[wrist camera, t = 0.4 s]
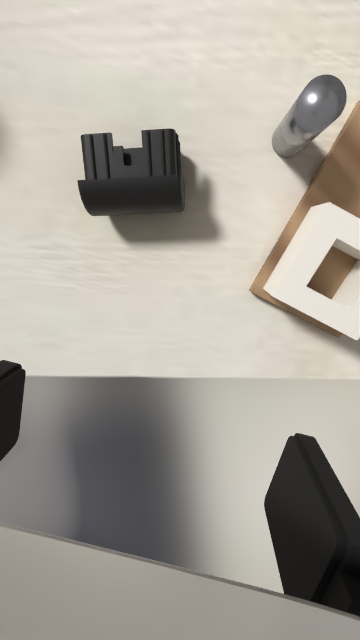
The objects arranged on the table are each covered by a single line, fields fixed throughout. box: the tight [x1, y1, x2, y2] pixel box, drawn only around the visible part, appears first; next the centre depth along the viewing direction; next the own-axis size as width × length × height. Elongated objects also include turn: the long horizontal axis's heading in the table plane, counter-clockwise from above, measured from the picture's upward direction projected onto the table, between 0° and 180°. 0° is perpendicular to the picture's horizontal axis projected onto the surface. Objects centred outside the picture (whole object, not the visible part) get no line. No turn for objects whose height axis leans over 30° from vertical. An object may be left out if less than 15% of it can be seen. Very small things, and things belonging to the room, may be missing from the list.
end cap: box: [78, 129, 185, 216], centre depth 32 cm, size 10×7×7 cm
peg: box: [272, 75, 346, 157], centre depth 29 cm, size 3×3×10 cm
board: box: [249, 101, 360, 338], centre depth 35 cm, size 22×12×2 cm, turn 153°
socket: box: [263, 202, 360, 340], centre depth 33 cm, size 10×10×5 cm
